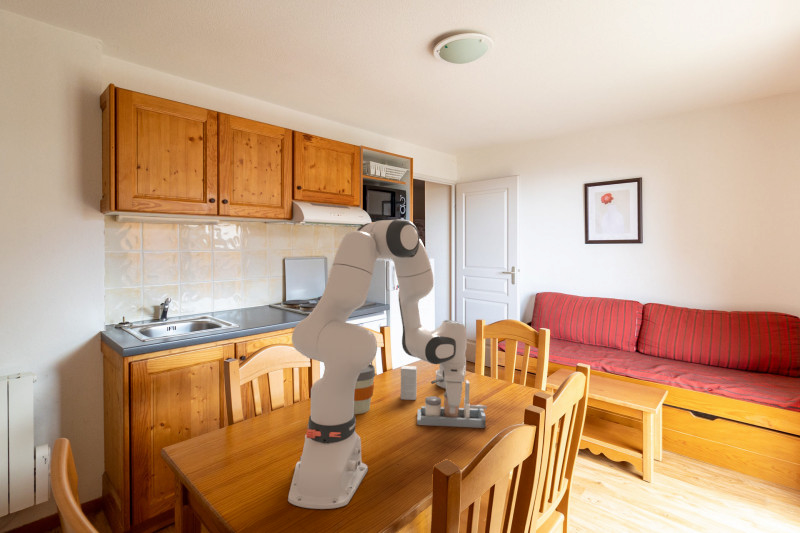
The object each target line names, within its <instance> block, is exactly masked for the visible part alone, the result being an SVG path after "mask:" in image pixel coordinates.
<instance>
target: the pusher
mask: <svg viewBox="0 0 800 533" xmlns="http://www.w3.org/2000/svg"><path fill="white" fill-rule="evenodd" d="M464 384H465V386H464V388H465V390H464V398H463V399H464V400H463V408H464V417H463V418H470V417H469V414H470V409H483V410H487V408H488V407H487V405H482V406H479V405H480V404H470V381H469V380H468V379H466V380H464Z"/></svg>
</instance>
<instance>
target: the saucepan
mask: <svg viewBox="0 0 800 533" xmlns="http://www.w3.org/2000/svg"><path fill="white" fill-rule="evenodd" d="M434 373H435V374H436V375H435V379H434V380H432V381H430V384H432V385H433V384H436V385H437V386H438V387H440V388H442V389H445V390H446V386H445V381H444V378H443V376H442V375H441V374H440V373H439V369H436V370H435V372H434Z"/></svg>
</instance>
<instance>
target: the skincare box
mask: <svg viewBox="0 0 800 533" xmlns="http://www.w3.org/2000/svg"><path fill="white" fill-rule="evenodd" d="M417 367H418V366H416V365H415V366H414V365H401V368H400V400H408V401H409V400H410V401H411V400H412V401H414V400H415V401H416V399H417V393H418V392H417V389H418V388H417V380H418V379H417V374H418V373H417V371H418V368H417Z"/></svg>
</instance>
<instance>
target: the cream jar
mask: <svg viewBox="0 0 800 533" xmlns="http://www.w3.org/2000/svg"><path fill="white" fill-rule="evenodd" d="M424 398H425V399H424V403H425V405H424V406H425V415H424V416H435V417H441V416H440V415H441V407H442V398H440V397H438V396H434V395H433V396H432V395H431V396H426V397H424Z"/></svg>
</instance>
